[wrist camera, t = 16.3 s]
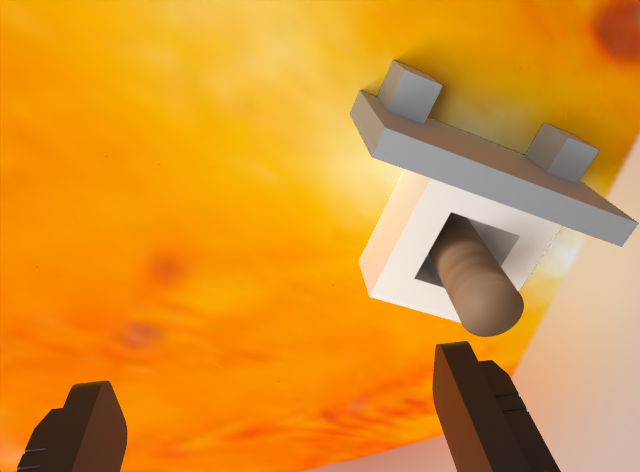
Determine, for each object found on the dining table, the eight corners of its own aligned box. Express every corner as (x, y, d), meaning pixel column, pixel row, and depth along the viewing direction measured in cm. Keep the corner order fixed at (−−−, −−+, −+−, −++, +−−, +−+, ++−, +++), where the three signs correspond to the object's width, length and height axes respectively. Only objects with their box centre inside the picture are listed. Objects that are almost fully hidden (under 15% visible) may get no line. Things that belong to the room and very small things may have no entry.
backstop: (349, 114, 41) (371, 156, 33) (375, 52, 39) (406, 80, 30) (554, 191, 46) (621, 246, 37) (587, 140, 44) (666, 186, 35)
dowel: (412, 242, 47) (448, 325, 36) (437, 201, 45) (482, 275, 34) (453, 259, 48) (500, 344, 37) (479, 219, 46) (536, 297, 35)
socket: (358, 259, 48) (369, 296, 43) (415, 142, 43) (436, 168, 38) (468, 292, 51) (491, 331, 46) (534, 186, 46) (568, 216, 41)
